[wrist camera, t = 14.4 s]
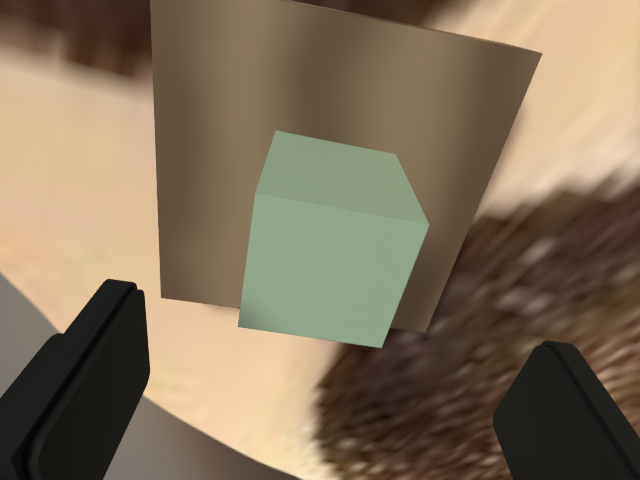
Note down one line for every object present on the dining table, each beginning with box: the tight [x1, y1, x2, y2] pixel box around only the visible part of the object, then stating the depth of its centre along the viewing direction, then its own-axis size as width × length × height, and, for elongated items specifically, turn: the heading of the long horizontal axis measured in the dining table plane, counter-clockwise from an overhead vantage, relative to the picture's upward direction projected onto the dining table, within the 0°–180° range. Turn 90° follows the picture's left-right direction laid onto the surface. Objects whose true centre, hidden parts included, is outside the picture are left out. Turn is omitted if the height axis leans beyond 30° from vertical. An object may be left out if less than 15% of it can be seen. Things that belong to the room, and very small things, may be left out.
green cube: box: [238, 131, 429, 348], centre depth 15 cm, size 5×5×6 cm
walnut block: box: [150, 0, 542, 332], centre depth 19 cm, size 14×14×4 cm
